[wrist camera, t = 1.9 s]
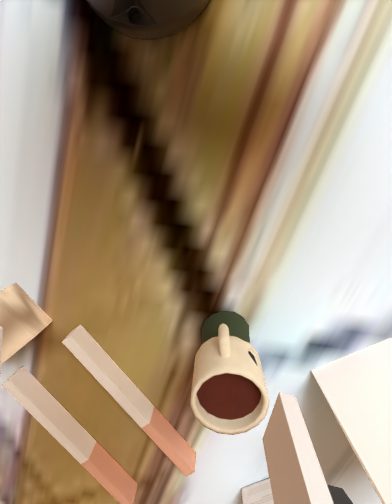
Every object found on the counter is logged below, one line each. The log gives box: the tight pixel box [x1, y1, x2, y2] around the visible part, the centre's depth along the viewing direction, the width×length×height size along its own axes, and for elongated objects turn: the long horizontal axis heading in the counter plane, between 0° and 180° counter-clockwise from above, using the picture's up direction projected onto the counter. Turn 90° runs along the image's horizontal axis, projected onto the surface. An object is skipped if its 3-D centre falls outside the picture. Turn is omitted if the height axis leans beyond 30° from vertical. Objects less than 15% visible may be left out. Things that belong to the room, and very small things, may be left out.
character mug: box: [190, 311, 269, 435], centre depth 33 cm, size 11×7×13 cm, turn 6°
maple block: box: [0, 283, 53, 364], centre depth 39 cm, size 7×7×4 cm
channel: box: [2, 324, 196, 504], centre depth 42 cm, size 26×13×3 cm, turn 37°
